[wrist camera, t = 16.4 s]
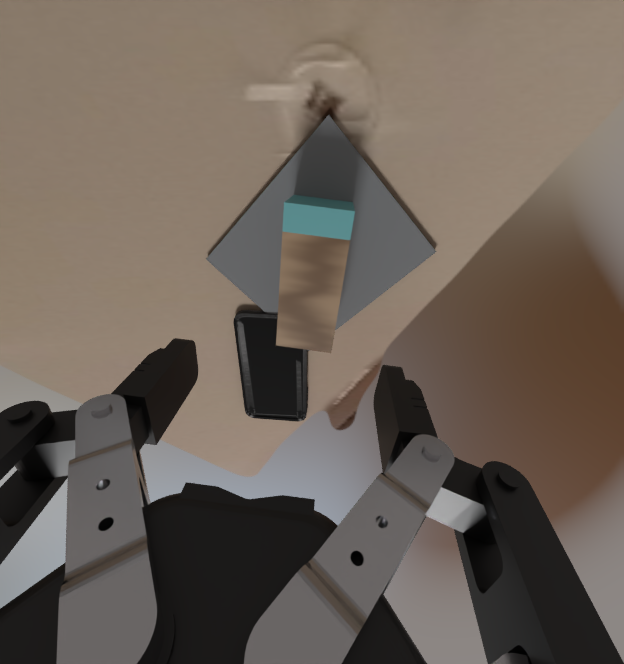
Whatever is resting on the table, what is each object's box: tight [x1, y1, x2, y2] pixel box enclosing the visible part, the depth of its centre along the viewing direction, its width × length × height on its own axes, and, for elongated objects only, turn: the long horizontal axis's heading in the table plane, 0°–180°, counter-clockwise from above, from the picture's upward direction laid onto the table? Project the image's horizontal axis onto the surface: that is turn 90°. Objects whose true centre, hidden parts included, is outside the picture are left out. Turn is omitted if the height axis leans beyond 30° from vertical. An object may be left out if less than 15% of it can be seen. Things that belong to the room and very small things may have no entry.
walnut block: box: [276, 195, 355, 353], centre depth 26 cm, size 5×5×12 cm
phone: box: [234, 310, 308, 421], centre depth 35 cm, size 8×1×15 cm
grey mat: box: [206, 115, 436, 351], centre depth 28 cm, size 14×16×1 cm
